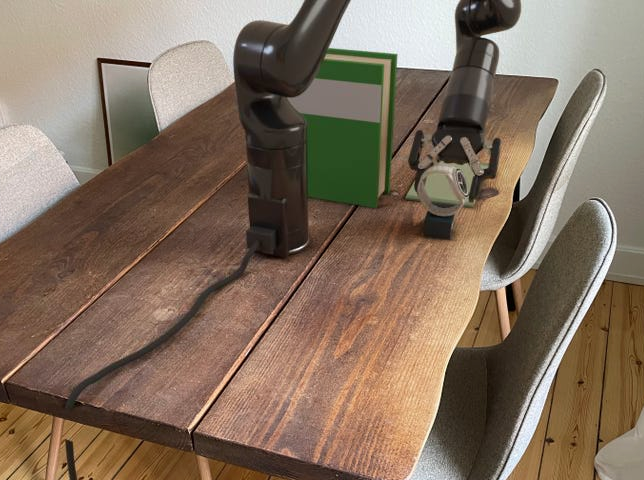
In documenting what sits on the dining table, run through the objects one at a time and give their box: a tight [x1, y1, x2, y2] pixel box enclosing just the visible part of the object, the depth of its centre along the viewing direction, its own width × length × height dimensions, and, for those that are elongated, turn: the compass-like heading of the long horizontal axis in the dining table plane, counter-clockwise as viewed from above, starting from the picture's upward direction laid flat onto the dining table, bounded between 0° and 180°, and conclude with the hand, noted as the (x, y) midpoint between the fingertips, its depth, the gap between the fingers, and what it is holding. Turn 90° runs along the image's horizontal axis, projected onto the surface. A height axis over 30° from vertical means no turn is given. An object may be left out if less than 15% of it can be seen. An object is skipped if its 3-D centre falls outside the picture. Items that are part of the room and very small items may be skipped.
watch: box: [417, 164, 469, 240], centre depth 120 cm, size 6×8×11 cm
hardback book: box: [287, 47, 398, 209], centre depth 131 cm, size 18×7×24 cm, turn 65°
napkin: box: [404, 161, 489, 208], centre depth 140 cm, size 20×12×1 cm, turn 160°
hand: (444, 197), depth 121 cm, fingers closed on watch, 8 cm apart
